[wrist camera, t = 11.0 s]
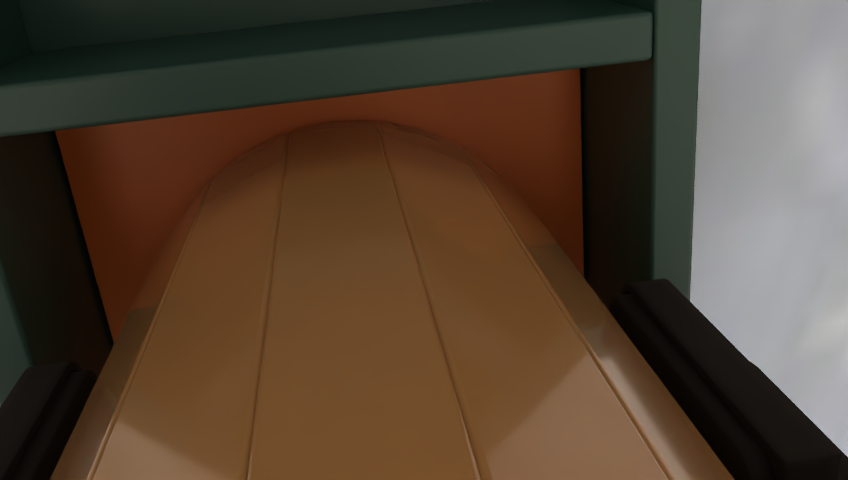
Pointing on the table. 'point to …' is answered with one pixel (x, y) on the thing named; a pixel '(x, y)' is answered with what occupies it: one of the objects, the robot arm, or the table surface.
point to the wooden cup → (373, 334)
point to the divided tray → (316, 104)
